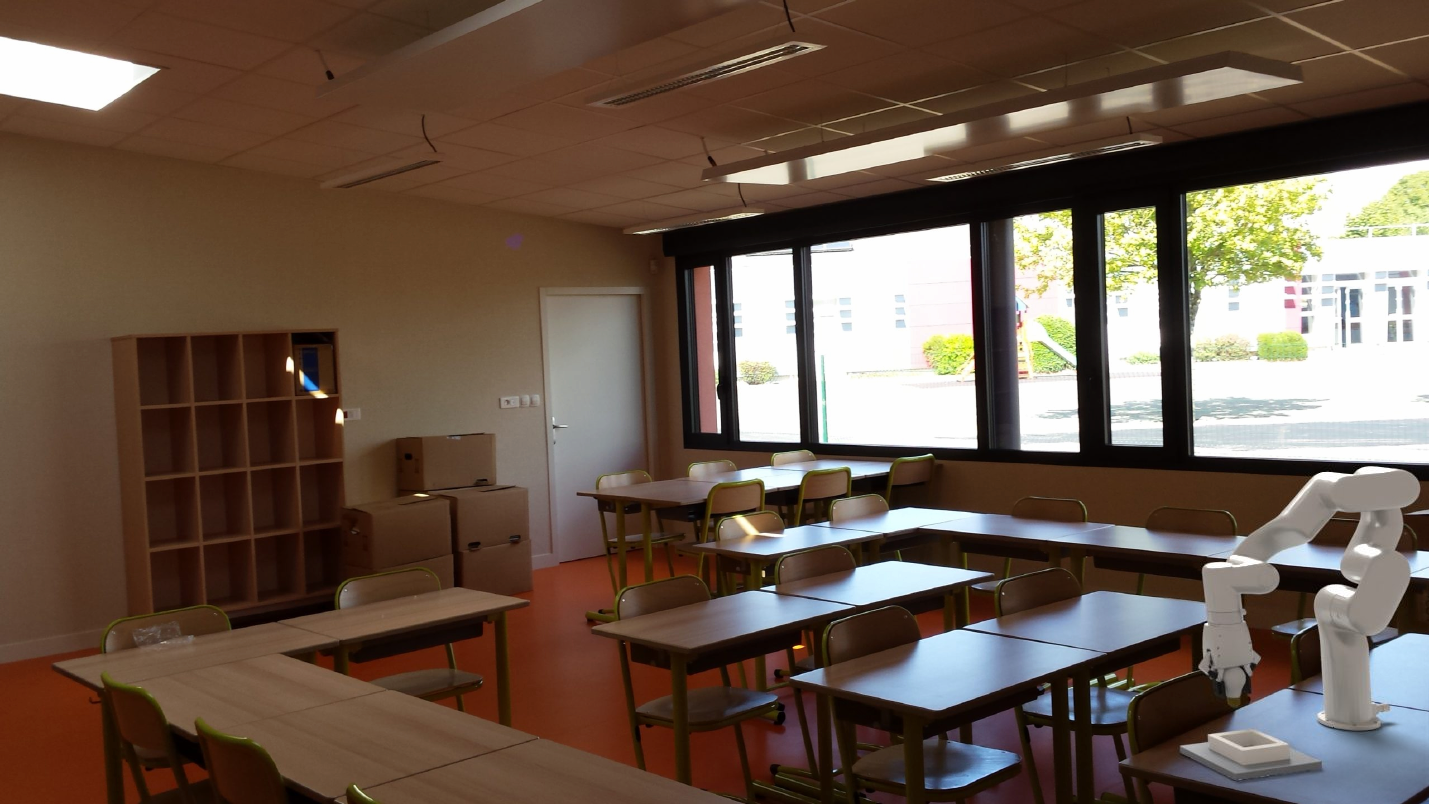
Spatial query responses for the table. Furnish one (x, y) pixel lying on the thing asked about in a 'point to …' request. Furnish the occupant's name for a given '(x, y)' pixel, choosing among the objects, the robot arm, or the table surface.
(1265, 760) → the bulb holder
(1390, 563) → the robot arm
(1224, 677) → the light bulb
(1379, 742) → the table surface
